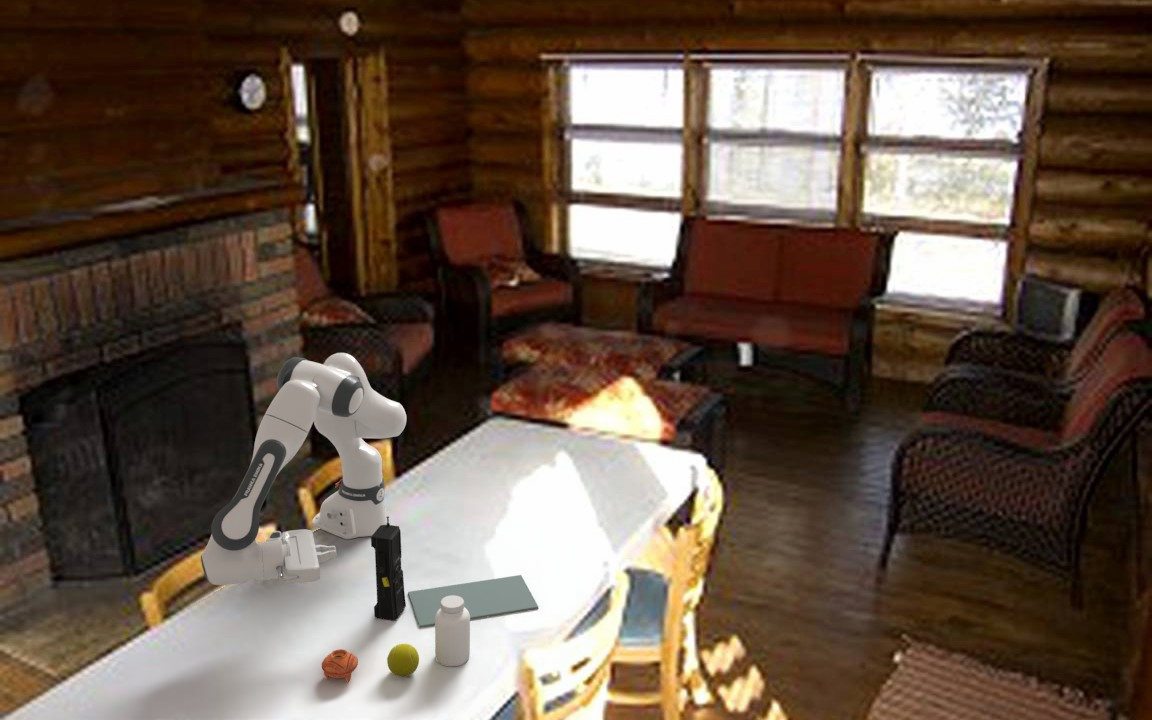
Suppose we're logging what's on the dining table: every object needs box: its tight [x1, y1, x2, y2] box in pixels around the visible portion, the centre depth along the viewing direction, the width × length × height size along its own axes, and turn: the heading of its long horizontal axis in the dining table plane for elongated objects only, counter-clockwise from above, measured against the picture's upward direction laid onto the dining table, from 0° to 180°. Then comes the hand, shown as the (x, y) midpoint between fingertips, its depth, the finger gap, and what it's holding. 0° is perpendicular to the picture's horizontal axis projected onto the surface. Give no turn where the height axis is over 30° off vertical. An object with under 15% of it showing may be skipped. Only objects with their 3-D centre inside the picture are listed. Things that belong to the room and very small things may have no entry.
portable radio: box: [370, 516, 407, 622], centre depth 249 cm, size 8×6×25 cm
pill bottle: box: [434, 595, 471, 667], centre depth 234 cm, size 8×8×15 cm
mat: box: [407, 574, 539, 629], centre depth 259 cm, size 30×16×1 cm, turn 109°
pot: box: [321, 648, 359, 683], centre depth 227 cm, size 8×8×7 cm
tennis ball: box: [386, 643, 420, 678], centre depth 229 cm, size 7×7×7 cm
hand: (336, 551), depth 242 cm, fingers closed
